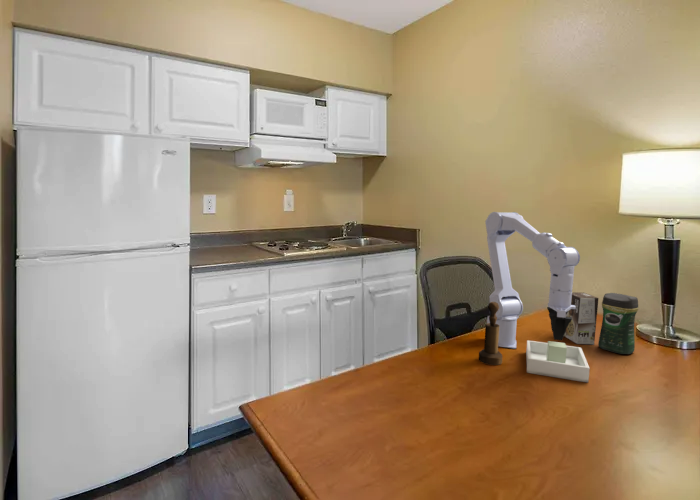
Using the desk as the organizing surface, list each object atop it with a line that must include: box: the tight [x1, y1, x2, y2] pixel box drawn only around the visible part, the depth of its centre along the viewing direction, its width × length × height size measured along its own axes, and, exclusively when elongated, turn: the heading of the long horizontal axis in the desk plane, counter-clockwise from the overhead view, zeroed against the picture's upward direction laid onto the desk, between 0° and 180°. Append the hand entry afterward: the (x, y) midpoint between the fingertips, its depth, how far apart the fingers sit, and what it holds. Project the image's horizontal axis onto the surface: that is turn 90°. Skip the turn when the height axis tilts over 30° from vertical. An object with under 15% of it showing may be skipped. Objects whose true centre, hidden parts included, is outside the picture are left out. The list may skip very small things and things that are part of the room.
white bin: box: [525, 339, 591, 383], centre depth 120 cm, size 15×17×4 cm
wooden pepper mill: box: [478, 301, 503, 366], centre depth 122 cm, size 7×6×18 cm
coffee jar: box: [598, 292, 639, 355], centre depth 133 cm, size 10×8×19 cm
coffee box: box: [564, 291, 600, 345], centre depth 143 cm, size 9×6×16 cm
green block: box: [546, 340, 567, 363], centre depth 119 cm, size 4×4×6 cm
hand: (556, 335), depth 119 cm, fingers open, 7 cm apart
